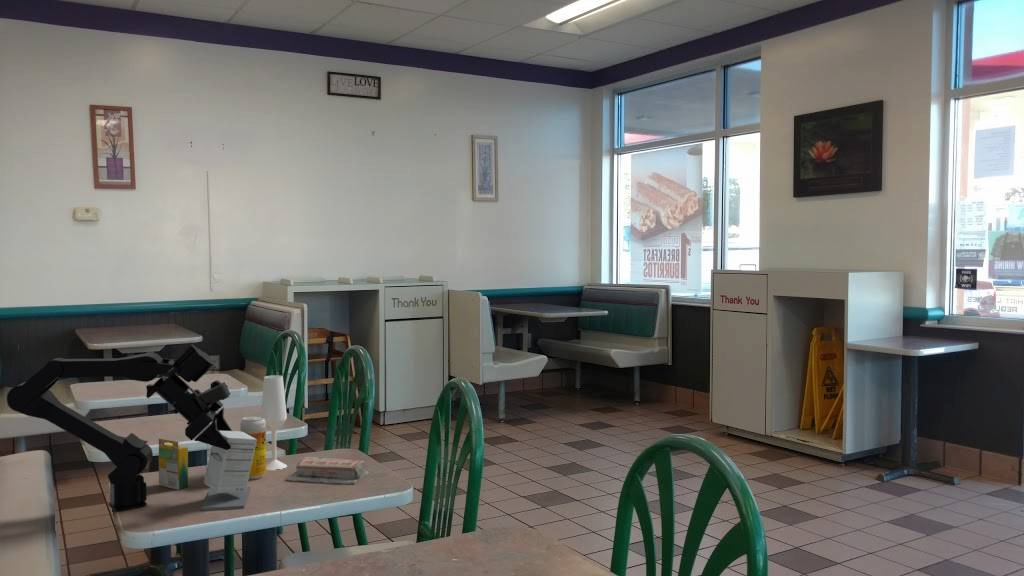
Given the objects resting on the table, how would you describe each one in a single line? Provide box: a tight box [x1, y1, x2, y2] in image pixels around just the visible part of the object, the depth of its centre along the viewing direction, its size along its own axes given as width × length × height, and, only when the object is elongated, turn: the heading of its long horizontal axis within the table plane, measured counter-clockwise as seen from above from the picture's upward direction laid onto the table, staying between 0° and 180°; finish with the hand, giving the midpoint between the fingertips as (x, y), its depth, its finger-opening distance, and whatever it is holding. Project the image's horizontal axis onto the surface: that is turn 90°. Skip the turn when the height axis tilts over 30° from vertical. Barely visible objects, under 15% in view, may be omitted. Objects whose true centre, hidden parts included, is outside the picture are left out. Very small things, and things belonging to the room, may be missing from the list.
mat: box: [200, 486, 251, 512], centre depth 182 cm, size 9×14×1 cm, turn 13°
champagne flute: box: [260, 374, 288, 471], centre depth 209 cm, size 7×7×24 cm
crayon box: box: [158, 438, 189, 491], centre depth 192 cm, size 7×3×12 cm, turn 61°
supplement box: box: [203, 430, 257, 493], centre depth 182 cm, size 7×7×13 cm
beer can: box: [239, 415, 267, 480], centre depth 200 cm, size 6×6×15 cm
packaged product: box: [286, 456, 369, 485], centre depth 201 cm, size 18×5×10 cm
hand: (232, 443), depth 182 cm, fingers closed on supplement box, 9 cm apart
